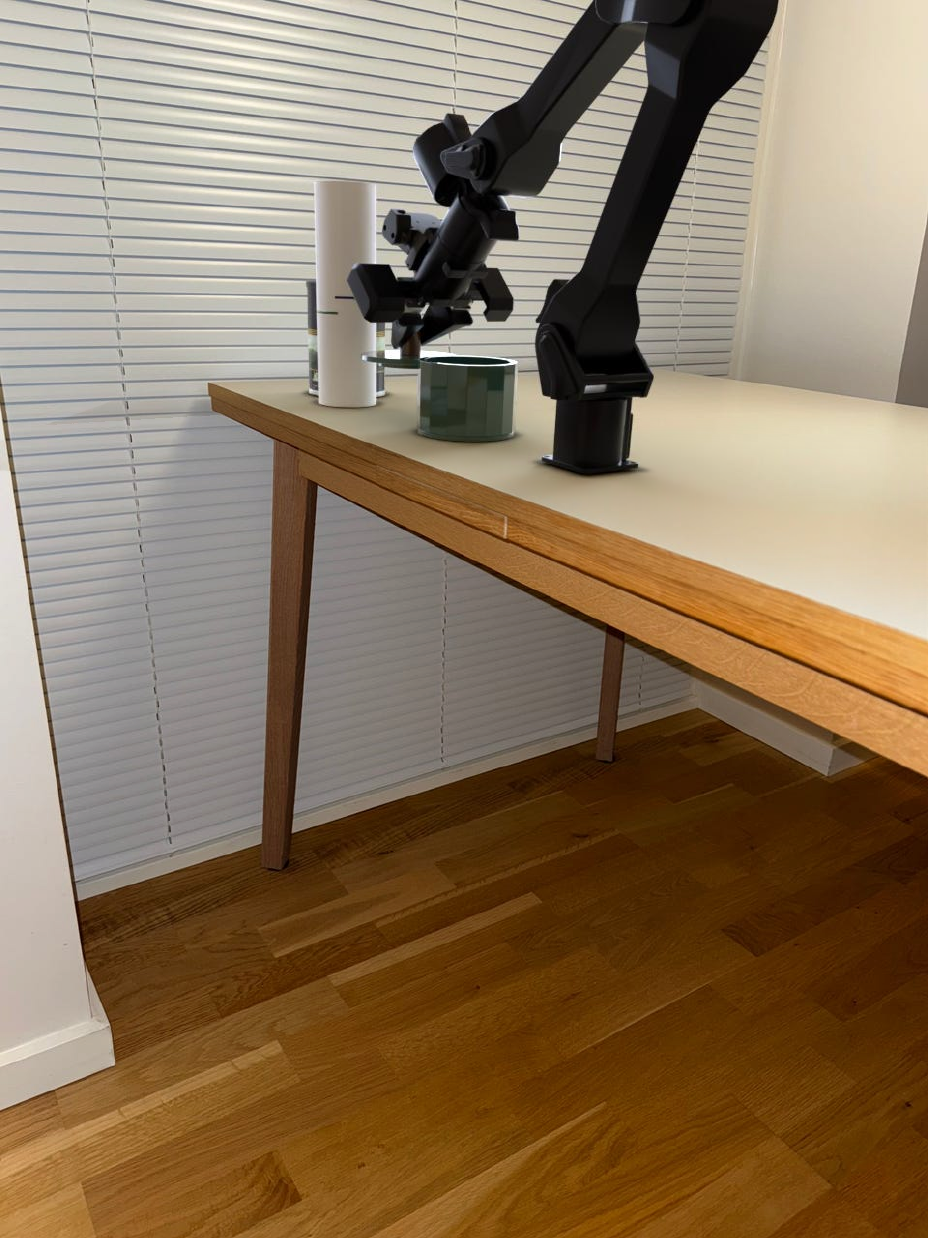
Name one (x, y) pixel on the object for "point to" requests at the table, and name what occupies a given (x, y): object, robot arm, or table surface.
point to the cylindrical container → (343, 292)
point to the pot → (467, 398)
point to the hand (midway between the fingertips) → (404, 345)
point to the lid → (402, 354)
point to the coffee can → (314, 344)
